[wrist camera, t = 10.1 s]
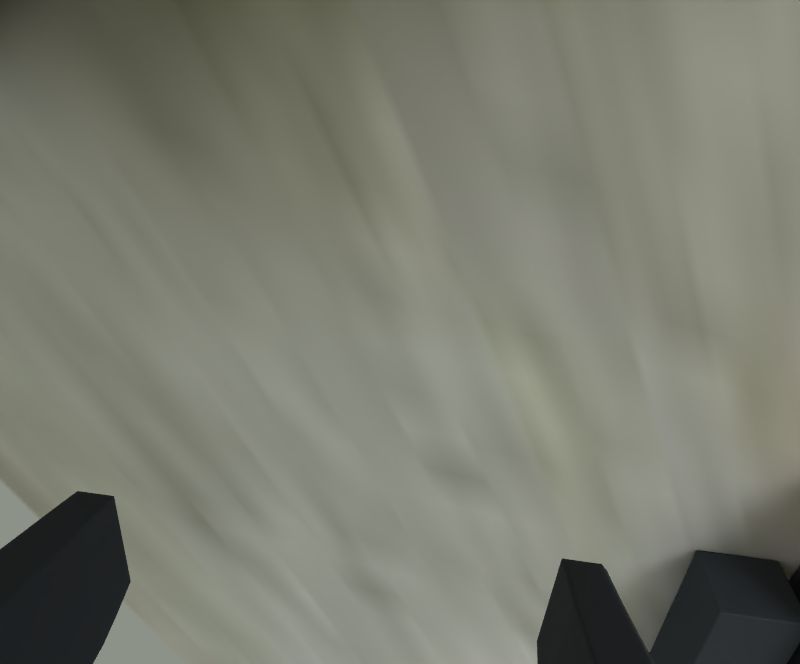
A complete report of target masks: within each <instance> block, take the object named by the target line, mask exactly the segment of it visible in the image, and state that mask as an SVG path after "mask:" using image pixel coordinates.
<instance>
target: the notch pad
mask: <svg viewBox="0 0 800 664" xmlns="http://www.w3.org/2000/svg"><path fill="white" fill-rule="evenodd" d="M799 644H800V603H799V601H798V599H797V597H796V595H795V593H794V591H793V589H792V587H791V585H790V583H789V581H788V579H787V577H786V575H785V573H784V571H783V569H782V567H781V565H780V563H779V562H777V561H770V560H763V559H756V558H748V557H741V556H734V555H726V554H719V553H712V552H705V551H696V553H695V555H694V557H693V559H692V562H691V564H690V566H689V568H688V570H687V573H686V575H685V577H684V579H683V582H682V584H681V586H680V588H679V590H678V593H677V595H676V597H675V599H674V601H673V604H672V606H671V608H670V610H669V612H668V615H667V617H666V619H665V621H664V624H663V626H662V628H661V630H660V632H659V635H658V637H657V639H656V641H655V643H654V646H653V648H652V650H651V652H650V656H651V658H652V660H653V662H654V663H655V664H787V663H788V661H789V660H790V658H791V656H792V655H793V653H794V652H795V650H796V649H797V647H798V645H799Z"/></svg>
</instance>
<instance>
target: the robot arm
mask: <svg viewBox="0 0 800 664" xmlns="http://www.w3.org/2000/svg"><path fill="white" fill-rule="evenodd" d="M129 584H130V576H129V571H128V566H127V560H126V555H125V550H124V545H123V540H122V535H121V530H120V525H119V520H118V515H117V510H116V505H115V499H114V496H109V495H101V494H94V493H87V492H80V491H77V492H76V493H75V494H73V495H72V496H70V497H69V498H68V499H66V500H65V501H64V502H62V503H61V504H60V505H58V506H57V507H56V508H54V509H53V510H52V511H50V512H49V513H48V514H46V515H45V516H44V517H42V518H41V519H40V520H38V521H37V522H36V523H34V524H33V525H32V526H30V527H29V528H28V529H27V530H25V531H24V532H23V533H21V534H20V535H19V536H17V537H16V538H15V539H13V540H12V541H11V542H10V543H8V544H7V545H5V546H4V547H3V548H1V549H0V664H93V662H94V660H95V659H96V657H97V655H98V653H99V651H100V650H101V648H102V646H103V644H104V642H105V639H106V637H107V635H108V633H109V631H110V628H111V626H112V624H113V622H114V620H115V617H116V615H117V613H118V610H119V608H120V605H121V603H122V601H123V598H124V596H125V593H126V591H127V589H128V586H129ZM537 657H538V664H655V663H654V662H653V660H652V658H651V656H650V654H649V652H648V651H647V649H646V647H645V645H644V643H643V641H642V639H641V637H640V636H639V634H638V632H637V630H636V628H635V626H634V624H633V622H632V620H631V618H630V617H629V615H628V613H627V611H626V609H625V607H624V605H623V603H622V601H621V599H620V597H619V595H618V593H617V591H616V589H615V587H614V585H613V583H612V581H611V578H610V576H609V574H608V572H607V570H606V569H605V568H604V567H603V565H602V564H597V563H590V562H582V561H575V560H568V559H562V560H561V563H560V567H559V570H558V573H557V577H556V580H555V583H554V587H553V590H552V593H551V597H550V600H549V603H548V606H547V610H546V613H545V616H544V620H543V623H542V626H541V630H540V633H539V636H538V640H537Z"/></svg>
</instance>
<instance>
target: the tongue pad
mask: <svg viewBox="0 0 800 664" xmlns="http://www.w3.org/2000/svg"><path fill="white" fill-rule="evenodd" d="M790 585H791V587H792V589H793V591H794V593H795V595H796V597H797V599H798V601H799V603H800V567H799V568H798V570H797V572H796V574H795V575H794V577H793V579H792V581H791V582H790ZM787 664H800V644H799V645H798V647H797V649H796V650H795V652H794V653H793V655H792V656H791V658H790V660H789V661H788V663H787Z"/></svg>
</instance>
